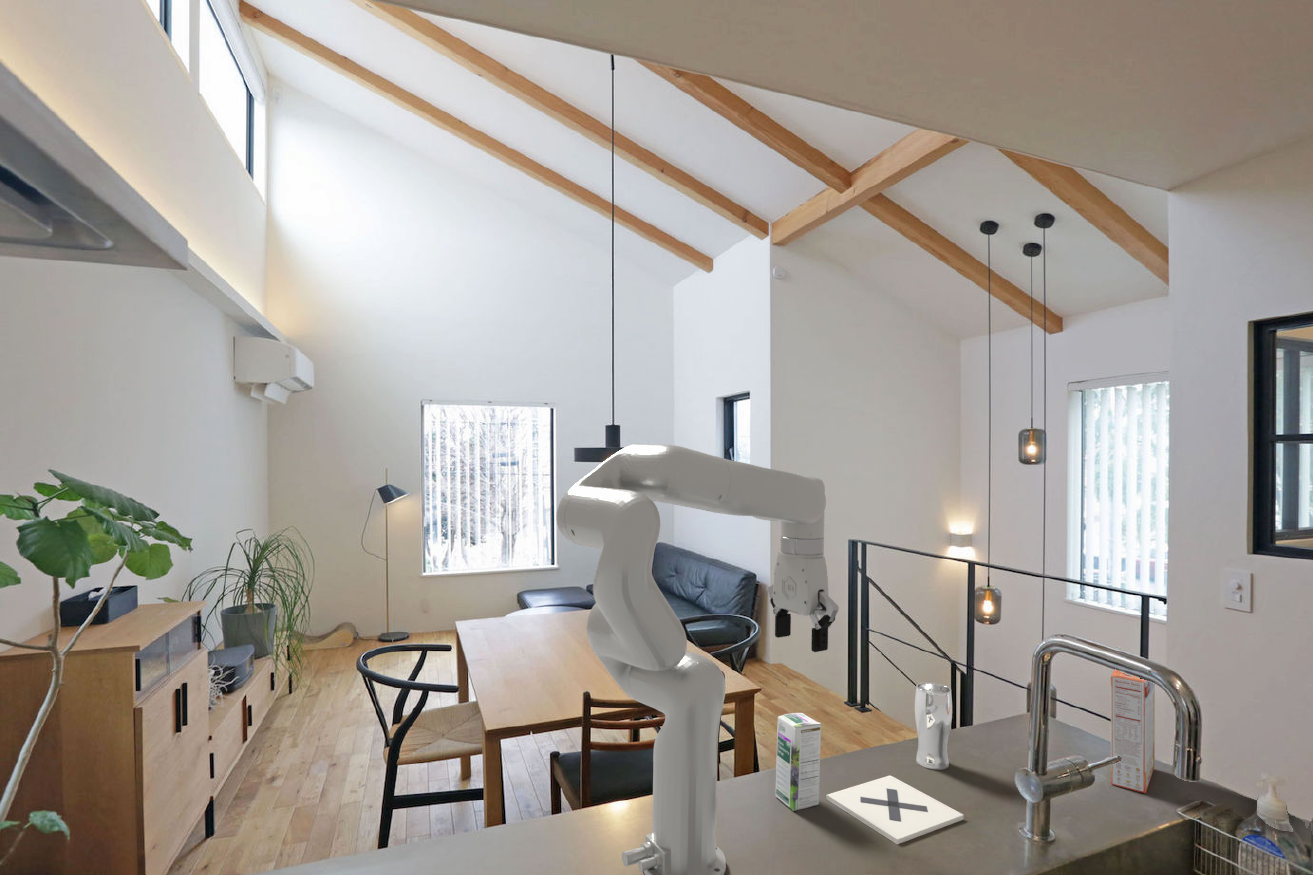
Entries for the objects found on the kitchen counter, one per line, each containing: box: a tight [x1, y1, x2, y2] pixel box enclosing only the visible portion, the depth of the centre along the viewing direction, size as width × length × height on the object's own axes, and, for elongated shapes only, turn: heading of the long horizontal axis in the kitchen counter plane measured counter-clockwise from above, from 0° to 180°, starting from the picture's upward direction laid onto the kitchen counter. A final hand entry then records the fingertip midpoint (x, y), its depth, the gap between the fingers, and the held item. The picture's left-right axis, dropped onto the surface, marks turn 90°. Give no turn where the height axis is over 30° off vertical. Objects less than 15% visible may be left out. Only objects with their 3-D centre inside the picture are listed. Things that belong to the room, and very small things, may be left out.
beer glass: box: [914, 681, 953, 771], centre depth 142 cm, size 7×7×15 cm
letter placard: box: [826, 774, 964, 845], centre depth 124 cm, size 16×16×1 cm
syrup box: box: [775, 712, 822, 812], centre depth 126 cm, size 6×6×14 cm
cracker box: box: [1110, 669, 1156, 794], centre depth 138 cm, size 14×6×21 cm, turn 139°
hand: (800, 643), depth 126 cm, fingers open, 9 cm apart
